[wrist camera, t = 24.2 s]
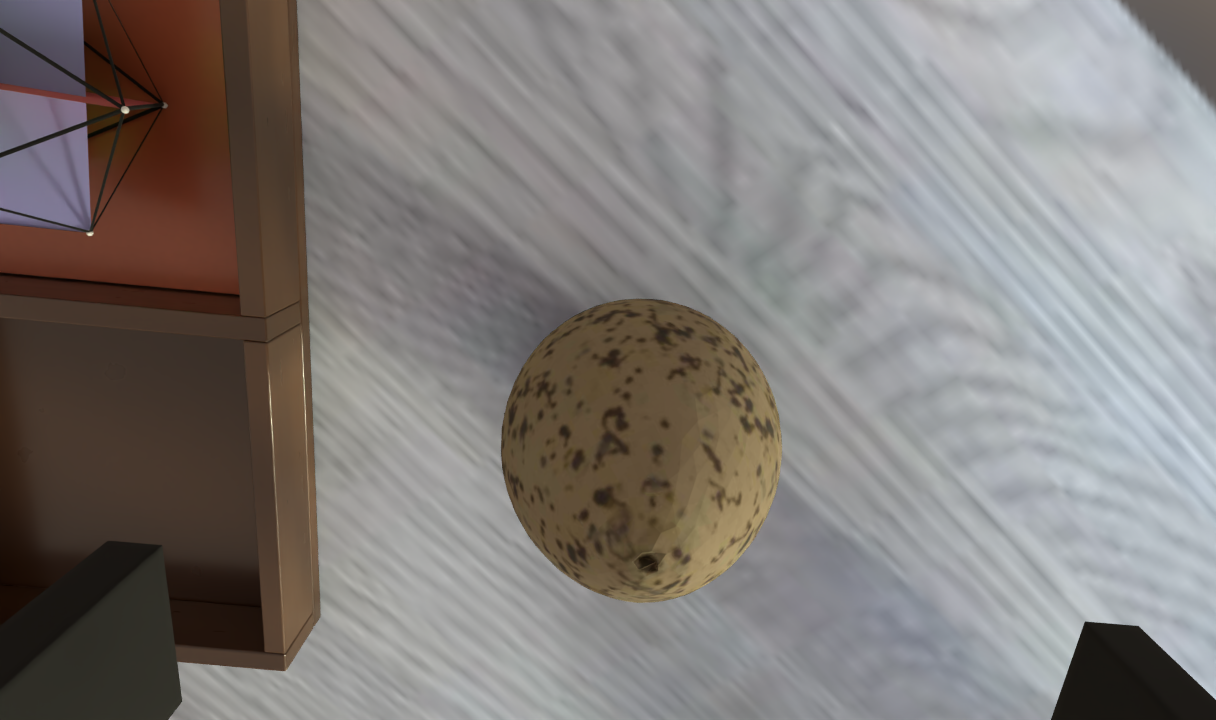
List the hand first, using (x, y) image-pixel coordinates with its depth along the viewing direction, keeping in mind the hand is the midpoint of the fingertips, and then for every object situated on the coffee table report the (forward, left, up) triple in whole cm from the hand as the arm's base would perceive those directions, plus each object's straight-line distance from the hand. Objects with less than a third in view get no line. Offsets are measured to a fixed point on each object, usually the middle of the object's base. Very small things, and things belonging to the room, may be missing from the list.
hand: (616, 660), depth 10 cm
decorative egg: (0, -1, -13) cm, 13 cm away
